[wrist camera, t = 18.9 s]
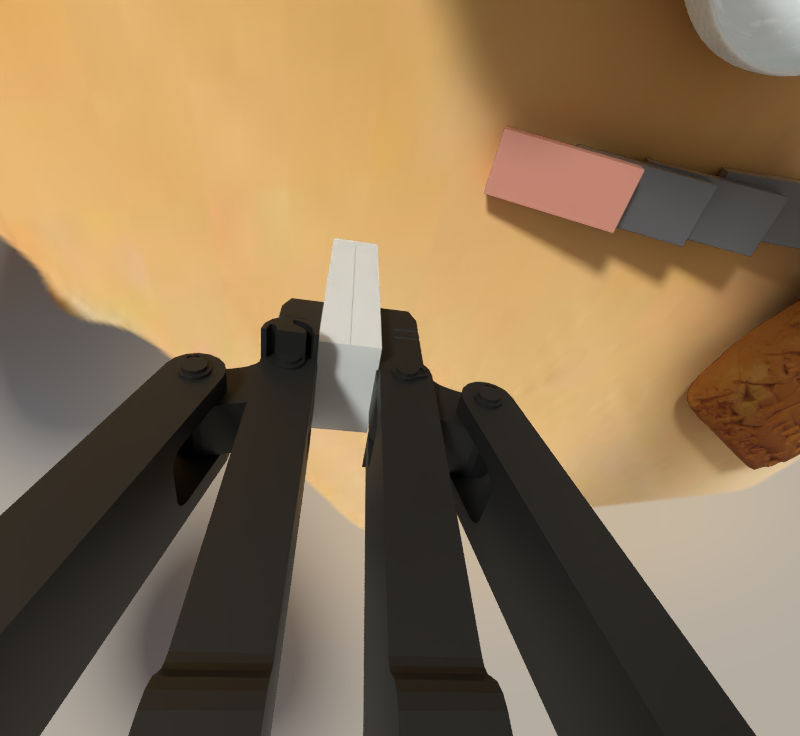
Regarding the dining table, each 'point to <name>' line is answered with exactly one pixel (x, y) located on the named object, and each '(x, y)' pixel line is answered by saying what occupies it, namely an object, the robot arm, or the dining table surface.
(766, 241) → the domino
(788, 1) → the cereal bowl
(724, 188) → the domino
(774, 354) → the inscribed clay slab
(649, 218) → the domino
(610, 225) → the domino
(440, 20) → the dining table surface
